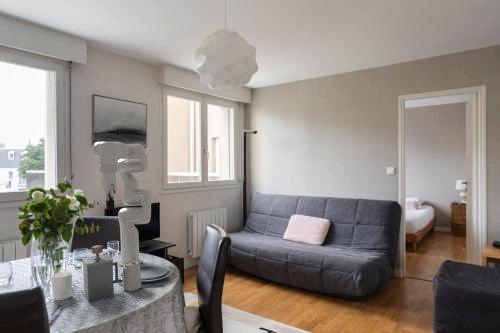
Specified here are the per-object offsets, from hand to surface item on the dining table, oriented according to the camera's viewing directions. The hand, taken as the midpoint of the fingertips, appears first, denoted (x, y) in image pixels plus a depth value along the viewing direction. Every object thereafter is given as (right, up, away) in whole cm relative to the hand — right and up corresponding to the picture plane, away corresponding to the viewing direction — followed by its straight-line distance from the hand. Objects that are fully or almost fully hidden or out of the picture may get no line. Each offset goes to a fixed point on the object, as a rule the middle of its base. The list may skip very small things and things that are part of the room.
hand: (110, 208), depth 153 cm
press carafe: (0, -37, -8) cm, 37 cm away
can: (+11, -36, -2) cm, 38 cm away
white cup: (-17, -37, -9) cm, 42 cm away
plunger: (-2, -30, -9) cm, 31 cm away
